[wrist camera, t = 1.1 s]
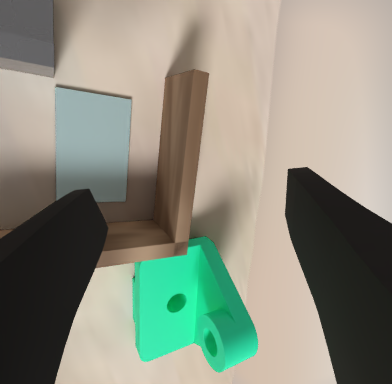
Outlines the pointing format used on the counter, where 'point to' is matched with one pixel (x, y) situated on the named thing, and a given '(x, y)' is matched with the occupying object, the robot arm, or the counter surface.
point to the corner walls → (166, 180)
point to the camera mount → (191, 308)
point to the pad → (92, 144)
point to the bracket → (27, 36)
